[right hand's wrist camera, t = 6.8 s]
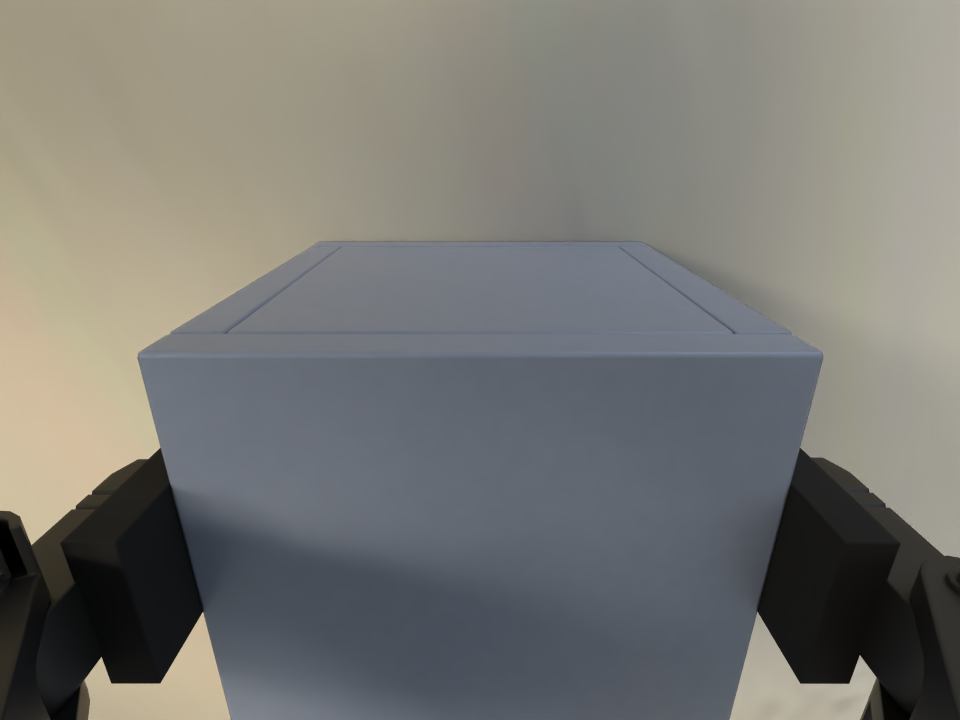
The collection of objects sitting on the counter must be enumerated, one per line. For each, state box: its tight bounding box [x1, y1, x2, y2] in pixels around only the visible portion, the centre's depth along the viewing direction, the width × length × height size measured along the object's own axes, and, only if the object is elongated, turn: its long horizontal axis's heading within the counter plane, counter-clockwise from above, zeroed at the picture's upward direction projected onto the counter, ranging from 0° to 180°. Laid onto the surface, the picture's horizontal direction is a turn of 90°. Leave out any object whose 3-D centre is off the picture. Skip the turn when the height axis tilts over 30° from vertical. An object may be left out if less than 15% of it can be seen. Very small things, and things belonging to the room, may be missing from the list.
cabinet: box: [138, 242, 823, 720], centre depth 15 cm, size 18×10×9 cm, turn 0°
